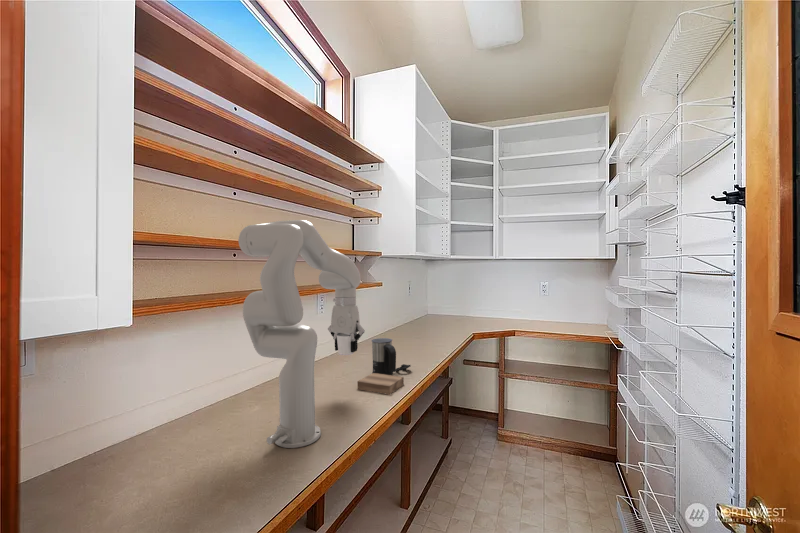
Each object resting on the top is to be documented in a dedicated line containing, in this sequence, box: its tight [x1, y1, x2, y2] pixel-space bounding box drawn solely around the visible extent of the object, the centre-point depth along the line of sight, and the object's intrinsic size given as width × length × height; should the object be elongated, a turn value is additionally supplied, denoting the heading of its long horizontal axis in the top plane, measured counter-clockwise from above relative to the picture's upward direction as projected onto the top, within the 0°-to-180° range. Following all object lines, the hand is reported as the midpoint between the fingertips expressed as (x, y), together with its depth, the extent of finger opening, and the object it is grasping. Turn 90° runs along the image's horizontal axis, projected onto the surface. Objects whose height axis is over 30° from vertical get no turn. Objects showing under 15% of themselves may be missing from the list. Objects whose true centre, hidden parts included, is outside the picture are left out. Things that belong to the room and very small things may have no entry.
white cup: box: [337, 333, 355, 356], centre depth 134 cm, size 7×7×7 cm
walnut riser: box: [357, 373, 405, 395], centre depth 143 cm, size 12×14×3 cm
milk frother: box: [371, 337, 412, 375], centre depth 161 cm, size 14×16×15 cm
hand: (346, 350), depth 134 cm, fingers closed on white cup, 6 cm apart
